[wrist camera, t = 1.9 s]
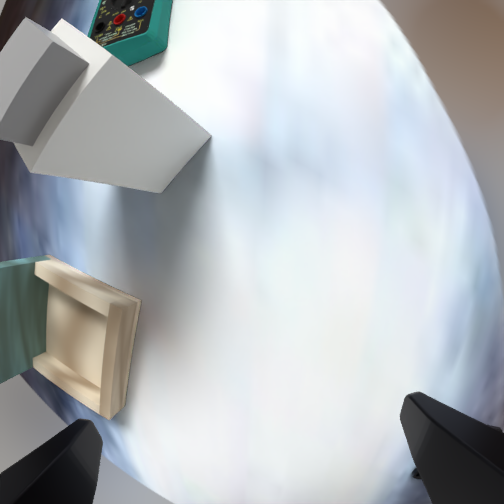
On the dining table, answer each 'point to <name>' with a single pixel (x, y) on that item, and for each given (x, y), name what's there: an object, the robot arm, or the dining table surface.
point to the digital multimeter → (131, 28)
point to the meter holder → (67, 330)
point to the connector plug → (89, 112)
